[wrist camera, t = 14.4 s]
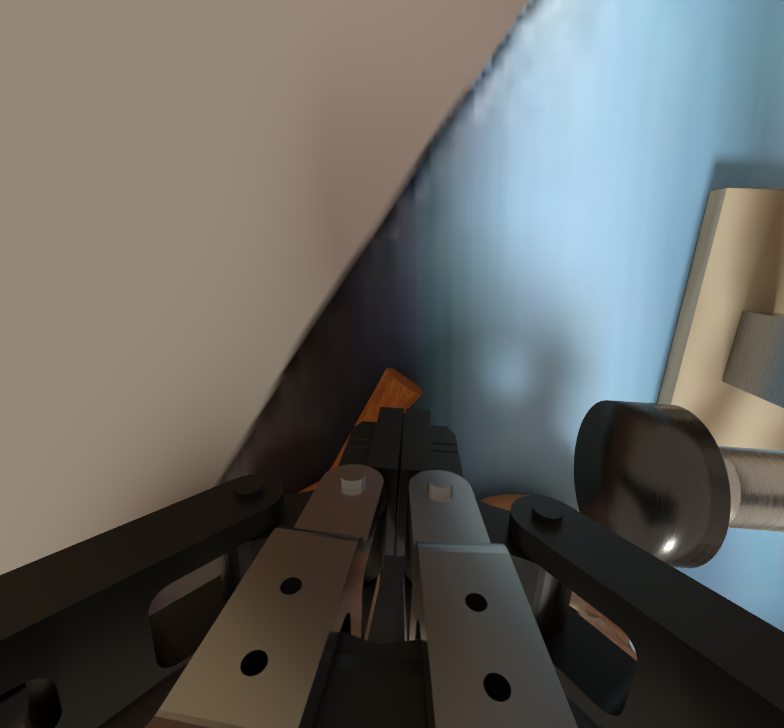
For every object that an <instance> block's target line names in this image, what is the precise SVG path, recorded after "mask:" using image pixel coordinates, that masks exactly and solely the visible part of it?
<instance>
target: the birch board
mask: <svg viewBox="0 0 784 728" xmlns="http://www.w3.org/2000/svg"><path fill="white" fill-rule="evenodd" d="M742 311H759V312H775V313H781V314H784V190H776V189H747V188H724V189H719V190H714V191H710V194H709V198H708V202H707V206H706V210H705V214H704V218H703V222H702V226H701V230H700V234H699V238H698V242H697V246H696V250H695V254H694V258H693V262H692V266H691V270H690V274H689V278H688V282H687V286H686V290H685V294H684V298H683V302H682V306H681V310H680V314H679V318H678V322H677V326H676V330H675V334H674V338H673V342H672V347H671V351H670V355H669V359H668V363H667V367H666V371H665V375H664V379H663V383H662V387H661V391H660V395H659V399H658V403H657V404H670V405H677V406H680V407H683V408H685V409H687V410H689V411H690V412H691V413H693V414H694V415H696V416H697V417H698V418H699V419H700V420H701V421H702V422H703V423H704V425H705V426H706V427H707V428H708V430H709V431H710V433H711V434H712V436H713V437H714V439H715V441H716V443H717V445H718V446H726V447H740V448H755V449H770V450H784V408H782V407H780V406H777V405H775V404H773V403H770V402H768V401H766V400H764V399H761V398H759V397H757V396H754V395H752V394H750V393H748V392H745V391H743V390H741V389H738V388H736V387H734V386H731V385H729V384H727V383H725V382H722V378H723V375H724V371H725V368H726V365H727V361H728V358H729V354H730V351H731V348H732V344H733V341H734V337H735V334H736V331H737V327H738V324H739V320H740V317H741V313H742Z"/></svg>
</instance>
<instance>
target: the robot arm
mask: <svg viewBox="0 0 784 728" xmlns="http://www.w3.org/2000/svg"><path fill="white" fill-rule="evenodd" d="M403 422H404V408H392V407H380V411H379V415H378V419H377V422H367V421H362V422H360V423H359V424H358V425H356V426H355V427H353V428H352V431H351V433H350V436H349V439H348V441H347V444H346V446H345V449H344V452H343V454H342V457H341V460H340V462H339V465H338V467H335V468H333V469H331V470H329V471H327V472H326V473H325V474H324V475H323V477H322V478H321V480H320V482H319V483H318V485H317V487H316V489H314V490H310V491H306V492H300V493H292V494H284V489H283V485H282V483H281V482H280V481H279V480H278V479H276V478H274V477H271V476H267V475H248V476H242V477H239V478H236V479H233V480H230V481H228V482H226V483H223V484H221V485H218V486H216V487H213V488H211V489H209V490H206V491H204V492H201V493H199V494H196V495H194V496H192V497H189V498H187V499H184V500H182V501H179V502H177V503H175V504H172V505H170V506H167V507H165V508H162V509H160V510H158V511H155V512H153V513H150V514H148V515H146V516H143V517H141V518H138V519H136V520H133V521H131V522H129V523H126V524H124V525H122V526H119V527H116V528H114V529H111V530H109V531H107V532H104V533H102V534H99V535H97V536H94V537H92V538H90V539H87V540H85V541H82V542H80V543H77V544H75V545H73V546H70V547H68V548H65V549H63V550H61V551H58V552H56V553H53V554H51V555H49V556H46V557H43V558H41V559H39V560H37V561H34V562H31V563H29V564H27V565H24V566H22V567H19V568H17V569H15V570H12V571H9V572H7V573H5V574H2V575H0V728H784V632H782V631H781V630H779V629H777V628H776V627H774V626H772V625H771V624H769V623H767V622H765V621H764V620H762V619H760V618H759V617H757V616H755V615H754V614H752V613H750V612H748V611H747V610H745V609H743V608H742V607H740V606H738V605H736V604H735V603H733V602H731V601H730V600H728V599H726V598H725V597H723V596H721V595H719V594H718V593H716V592H714V591H713V590H711V589H709V588H708V587H706V586H704V585H702V584H701V583H699V582H697V581H696V580H694V579H692V578H690V577H689V576H687V575H685V574H684V573H682V572H680V571H679V570H677V569H675V568H673V567H672V566H670V565H668V564H667V563H665V562H663V561H662V560H660V559H658V558H656V557H655V556H653V555H651V554H650V553H648V552H646V551H644V550H643V549H641V548H639V547H638V546H636V545H634V544H633V543H631V542H629V541H627V540H626V539H624V538H622V537H621V536H619V535H617V534H616V533H614V532H612V531H610V530H609V529H607V528H605V527H604V526H602V525H600V524H598V523H597V522H595V521H593V520H592V519H590V518H588V517H587V516H585V515H583V514H581V513H580V512H578V511H576V510H575V509H573V508H571V507H570V506H568V505H566V504H564V503H562V502H560V501H558V500H555V499H552V498H548V497H544V496H534V495H532V496H524V497H520V498H518V499H516V500H515V501H514V502H513V503H512V505H511V510H510V511H509V510H506V509H502V508H498V507H495V506H492V505H489V504H487V503H484V502H482V501H480V500H478V499H477V498H476V497H475V496H474V493H473V490H472V487H471V485H470V484H469V483H468V482H467V481H466V480H465V479H464V478H463V474H462V469H461V464H460V458H459V454H458V448H457V442H456V437H455V434H454V433H453V432H452V431H451V430H450V429H449V428H447V427H446V426H431V423H430V410H425V409H409V408H406V415H405V426H404V438H403ZM402 442H403V449H402ZM399 487H400V494H399ZM398 499H399V514H398V533H397V553H396V556H404V576H403V603H404V628H405V641H404V642H397V643H391V644H376V643H373V642H370V641H368V636H369V632H370V627H371V622H372V618H373V613H374V608H375V604H376V599H377V594H378V590H379V585H380V572H381V570H382V568H383V563H384V555H390V556H394V545H395V533H396V522H397V510H398ZM218 557H219V560H220V570H221V575H220V576H218V577H216V578H215V579H213V580H211V581H209V582H208V583H206V584H204V585H203V586H201V587H199V588H197V589H196V590H194V591H192V592H191V593H189V594H187V595H185V596H184V597H182V598H180V599H178V600H177V601H175V602H173V603H172V604H170V605H168V606H166V607H165V608H163V609H161V610H160V611H158V612H156V613H154V614H152V615H151V616H149V615H148V611H149V607H150V604H151V602H152V600H153V599H154V597H155V596H156V595H157V594H158V593H159V592H160V591H161V590H162V589H163V588H164V587H166V586H167V585H169V584H171V583H172V582H174V581H176V580H178V579H180V578H182V577H183V576H185V575H187V574H189V573H191V572H193V571H194V570H196V569H198V568H200V567H202V566H204V565H205V564H207V563H209V562H211V561H213V560H215V559H216V558H218ZM572 591H573V592H574V593H575V594H577V595H578V596H579V597H580V598H582V599H583V600H584V601H586V602H587V603H588V604H590V605H591V606H592V607H593V608H595V609H596V610H597V611H599V612H600V613H601V614H603V615H604V616H605V617H607V618H608V619H609V620H610V621H612V622H613V623H614V624H616V625H617V626H618V627H619V628H620V629H622V630H623V632H624V633H625V634H626V635H627V636H628V637H629V639H630V640H631V642H632V644H633V646H634V648H635V651H636V654H637V661H636V660H635V659H634V658H633V657H631V656H630V655H629V654H628V653H626V652H625V651H624V650H623V649H621V648H620V647H619V646H618V645H616V644H615V643H614V642H613V641H612V640H610V639H609V638H608V637H607V636H605V635H604V634H603V633H602V632H600V631H599V630H598V629H597V628H595V627H594V626H593V625H592V624H590V623H589V622H588V621H587V620H585V619H584V618H583V617H582V616H580V615H579V614H578V613H577V612H576V611H574V610H573V609H572V608H571V607H569V605H570V600H571V595H572Z"/></svg>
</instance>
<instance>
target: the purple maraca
mask: <svg viewBox="0 0 784 728" xmlns="http://www.w3.org/2000/svg"><path fill="white" fill-rule="evenodd" d="M422 394H423V392H422V390H421V389H420V388H419V387H418V386H417V385H416V384H415V383H414V382H413V381H411V380H410V379H408V378H407V377H405V376H404V375H402V374H401V373H400V372H398V371H397V370H395V369H392V368H389V367H387V368H386V370H385V372H384V374H383V376H382V377H381V379H380V381H379V383H378V385H377V386H376V388H375V390H374V392H373V394H372V395H371V397H370V399H369V401H368V403H367V404H366V406H365V408H364V410H363V412H362V413H361V415H360V417H359V419H358V421H357V422H356V424H355V426H356V425H358V424H359V423H360V422H362V421H367V422H377V419H378V415H379V411H380V407H392V408H404V414H405V412H406V408H410V407H411V406H412V405H413V404H414V403H415V402H416V401H417V400H418V399H419V397H420V396H421V395H422ZM355 426H354V427H355ZM349 436H350V435H349ZM348 439H349V437H348V438H347V440H346V442H345V444H344V446H343V447H342V449H341V451H340V453H339V455H338V456H337V458H336V460H335V462H334V464H333V465H332V467H331V469H333V468H335V467H338V465H339V462H340V460H341V457H342V454H343V452H344V449H345V446H346V444H347V441H348ZM331 469H330V470H331ZM319 482H320V481H319ZM319 482H317V483H315V484H313V485H311V486H309V487H307V488H305V489H303V490H301V491H299V492H297V493H300V492H306V491H310V490H314V489H316V487H317V485H318V483H319Z"/></svg>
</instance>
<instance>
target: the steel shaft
mask: <svg viewBox="0 0 784 728" xmlns="http://www.w3.org/2000/svg"><path fill="white" fill-rule="evenodd" d="M574 482H575V491H576V498H577V503H578V507H579V511H580V513H581V514H583V515H585V516H587V517H588V518H590V519H592V520H593V521H595V522H597V523H598V524H600V525H602V526H604V527H605V528H607V529H609V530H610V531H612V532H614V533H616V534H617V535H619V536H621V537H622V538H624V539H626V540H627V541H629V542H631V543H633V544H634V545H636V546H638V547H639V548H641V549H643V550H644V551H646V552H648V553H650V554H651V555H653V556H655V557H656V558H658V559H660V560H662V561H663V562H665V563H667V564H668V565H670V566H672V567H681V568H695V567H699V566H701V565H704V564H706V563H707V562H708V561H710V560H711V559H712V558H713V557H714V556H715V555H716V553H717V552H718V550H719V549H720V547H721V546H722V544H723V541H724V539H725V536H726V533H727V529H728V527H731V528H744V529H757V530H769V531H782V532H784V450H770V449H755V448H740V447H726V446H718V445H717V443H716V441H715V439H714V437H713V436H712V434H711V433H710V431H709V430H708V428H707V427H706V426H705V425H704V423H703V422H702V421H701V420H700V419H699V418H698V417H697V416H696V415H694V414H693V413H691V412H690V411H689V410H687V409H685V408H683V407H680V406H677V405H670V404H655V403H640V402H624V401H608V400H605V401H600V402H598V403H596V404H595V405H594V406H592V408H591V409H590V410H589V411H588V412H587V414H586V415H585V417H584V419H583V421H582V424H581V426H580V429H579V432H578V436H577V441H576V447H575V455H574Z"/></svg>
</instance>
